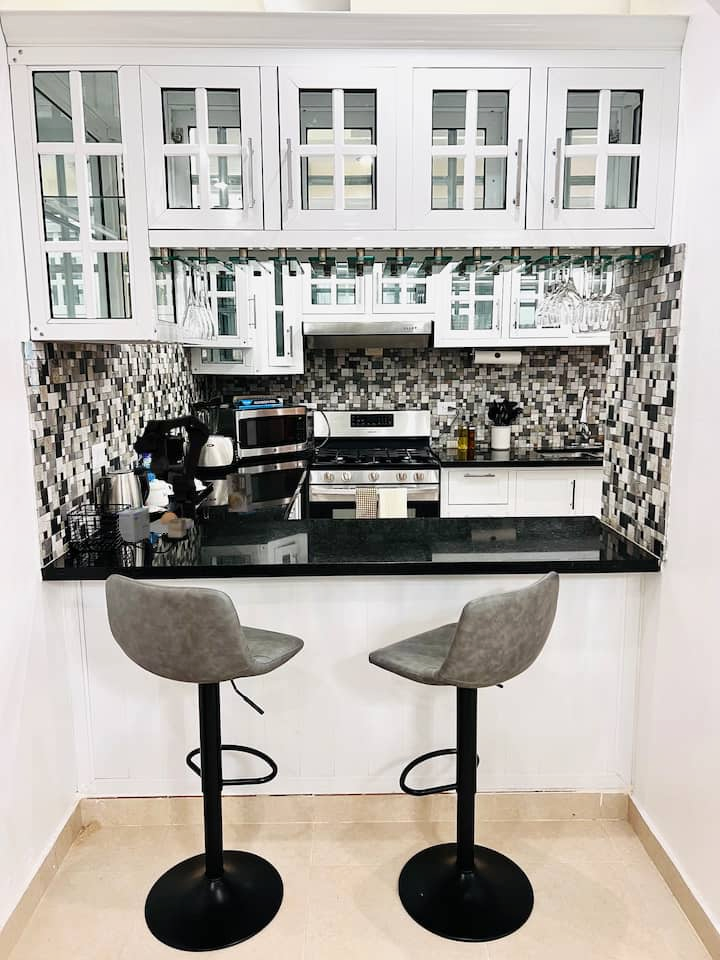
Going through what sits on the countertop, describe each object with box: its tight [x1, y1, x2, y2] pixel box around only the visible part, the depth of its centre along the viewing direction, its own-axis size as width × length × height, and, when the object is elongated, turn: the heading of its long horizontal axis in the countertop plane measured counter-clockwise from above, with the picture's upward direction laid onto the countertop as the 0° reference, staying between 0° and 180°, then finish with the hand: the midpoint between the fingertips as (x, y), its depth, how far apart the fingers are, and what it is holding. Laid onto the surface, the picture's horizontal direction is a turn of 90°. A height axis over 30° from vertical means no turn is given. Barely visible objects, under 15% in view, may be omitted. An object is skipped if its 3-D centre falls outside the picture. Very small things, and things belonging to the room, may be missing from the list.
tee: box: [167, 517, 187, 538], centre depth 257 cm, size 5×5×6 cm
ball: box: [160, 512, 178, 525], centre depth 268 cm, size 6×6×6 cm
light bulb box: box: [116, 507, 151, 544], centre depth 252 cm, size 11×7×11 cm, turn 166°
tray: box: [150, 518, 193, 533], centre depth 268 cm, size 12×12×3 cm
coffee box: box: [226, 472, 254, 513], centre depth 305 cm, size 9×6×16 cm
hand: (161, 492), depth 275 cm, fingers open, 9 cm apart
